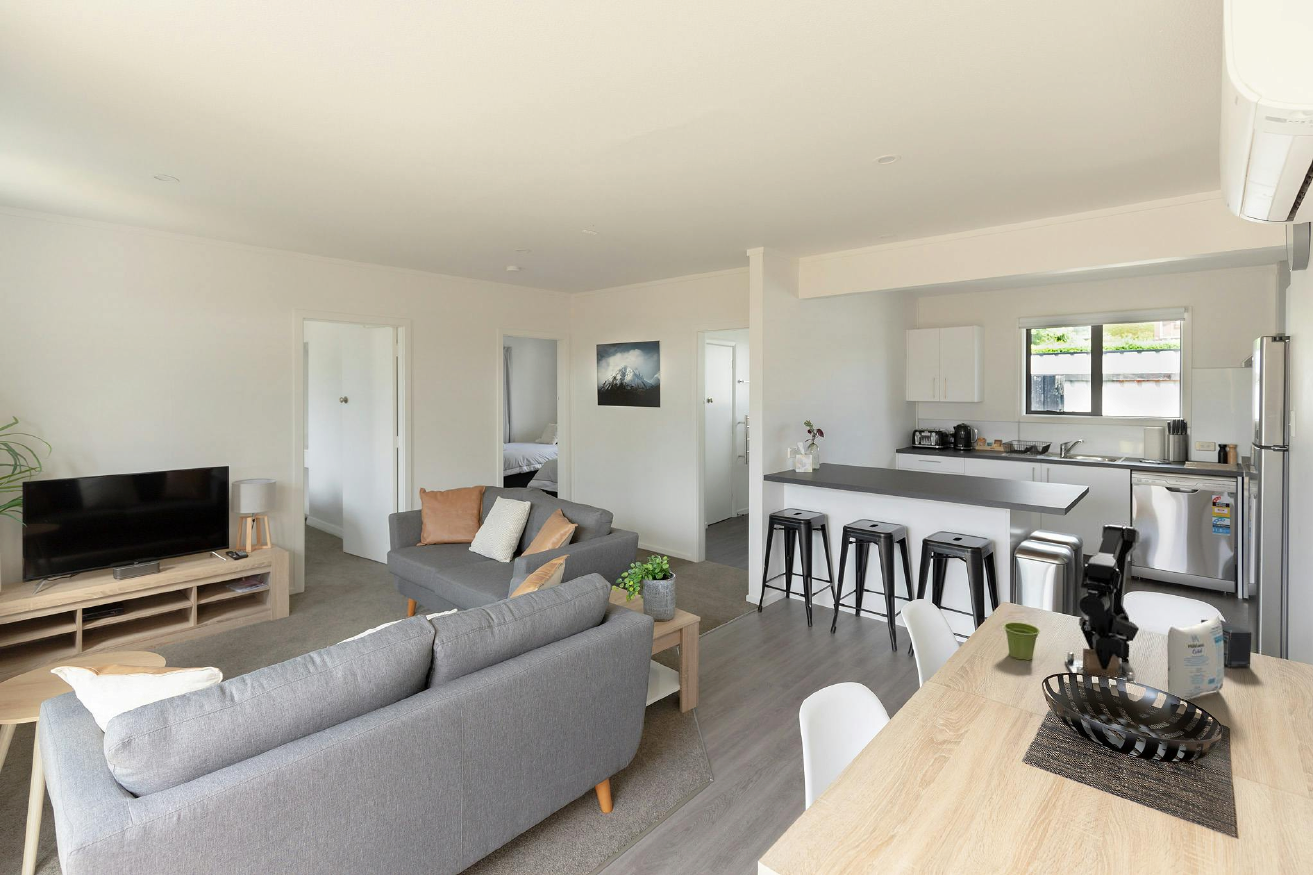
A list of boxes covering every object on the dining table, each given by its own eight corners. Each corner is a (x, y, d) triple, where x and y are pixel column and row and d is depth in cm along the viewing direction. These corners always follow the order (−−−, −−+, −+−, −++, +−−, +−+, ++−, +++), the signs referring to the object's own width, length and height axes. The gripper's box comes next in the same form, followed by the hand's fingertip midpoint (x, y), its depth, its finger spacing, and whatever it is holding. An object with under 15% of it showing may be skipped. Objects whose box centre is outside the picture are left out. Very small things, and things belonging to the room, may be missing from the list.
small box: (1252, 668, 184) (1253, 631, 184) (1228, 668, 184) (1230, 632, 184) (1220, 653, 195) (1222, 618, 194) (1198, 653, 195) (1199, 619, 194)
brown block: (1118, 677, 178) (1118, 659, 178) (1088, 674, 181) (1088, 656, 181) (1111, 668, 184) (1112, 651, 184) (1082, 665, 187) (1083, 648, 186)
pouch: (1237, 698, 167) (1240, 621, 166) (1184, 711, 162) (1186, 631, 160) (1203, 685, 175) (1206, 612, 173) (1151, 697, 169) (1153, 621, 168)
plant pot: (1045, 657, 195) (1045, 628, 195) (1029, 665, 190) (1029, 636, 189) (1013, 647, 203) (1013, 620, 202) (997, 655, 198) (997, 627, 197)
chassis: (1075, 681, 179) (1076, 669, 179) (1064, 662, 191) (1064, 651, 191) (1137, 688, 174) (1137, 675, 174) (1121, 668, 186) (1121, 656, 186)
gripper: (1147, 621, 170) (1145, 680, 171) (1124, 599, 187) (1123, 653, 188) (1097, 617, 174) (1095, 675, 175) (1079, 596, 191) (1078, 648, 192)
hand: (1099, 662), depth 182 cm, fingers open, 9 cm apart
